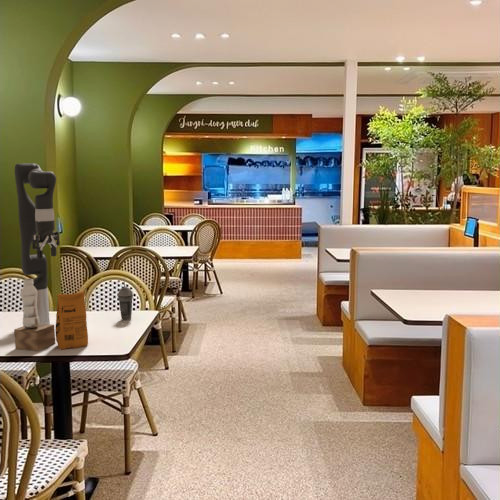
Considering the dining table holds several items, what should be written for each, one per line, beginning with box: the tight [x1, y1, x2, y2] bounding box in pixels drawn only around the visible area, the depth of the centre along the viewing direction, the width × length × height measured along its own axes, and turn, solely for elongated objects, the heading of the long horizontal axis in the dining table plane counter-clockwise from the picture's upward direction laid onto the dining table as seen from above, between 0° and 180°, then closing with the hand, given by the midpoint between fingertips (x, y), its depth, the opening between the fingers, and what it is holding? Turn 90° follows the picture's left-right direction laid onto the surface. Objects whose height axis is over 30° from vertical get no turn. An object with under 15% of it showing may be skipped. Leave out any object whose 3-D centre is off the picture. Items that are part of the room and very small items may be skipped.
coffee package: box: [55, 291, 89, 350], centre depth 245 cm, size 10×12×22 cm
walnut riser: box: [13, 323, 56, 352], centre depth 246 cm, size 11×11×8 cm
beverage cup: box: [117, 277, 134, 321], centre depth 289 cm, size 7×7×20 cm
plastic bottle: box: [20, 278, 40, 328], centre depth 243 cm, size 6×7×20 cm
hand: (47, 257), depth 253 cm, fingers open, 8 cm apart
